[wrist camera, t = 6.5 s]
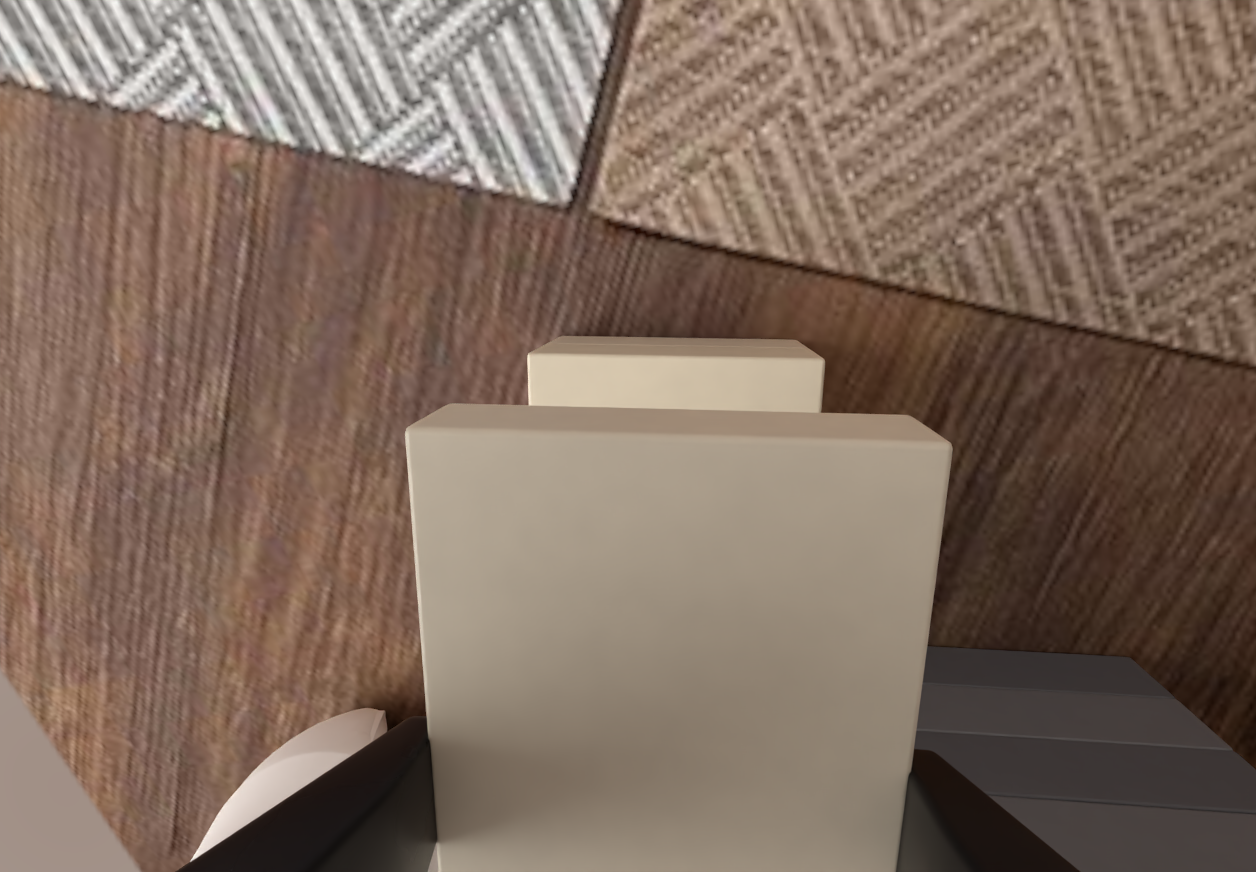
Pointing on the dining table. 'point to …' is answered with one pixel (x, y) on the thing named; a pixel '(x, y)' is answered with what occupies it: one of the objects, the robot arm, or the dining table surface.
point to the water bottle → (297, 770)
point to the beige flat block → (672, 634)
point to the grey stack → (1091, 759)
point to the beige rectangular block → (676, 374)
